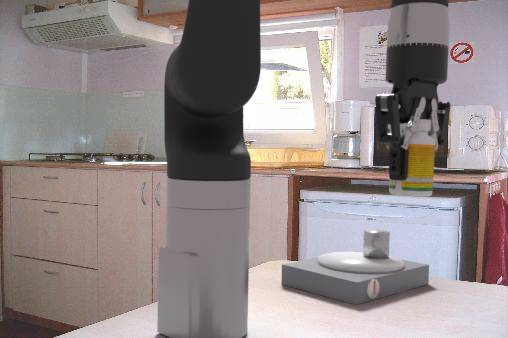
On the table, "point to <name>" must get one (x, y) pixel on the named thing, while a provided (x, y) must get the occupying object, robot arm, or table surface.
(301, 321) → the table surface
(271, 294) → the table surface
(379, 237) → the cylinder
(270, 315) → the table surface
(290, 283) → the scale
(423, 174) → the supplement bottle
